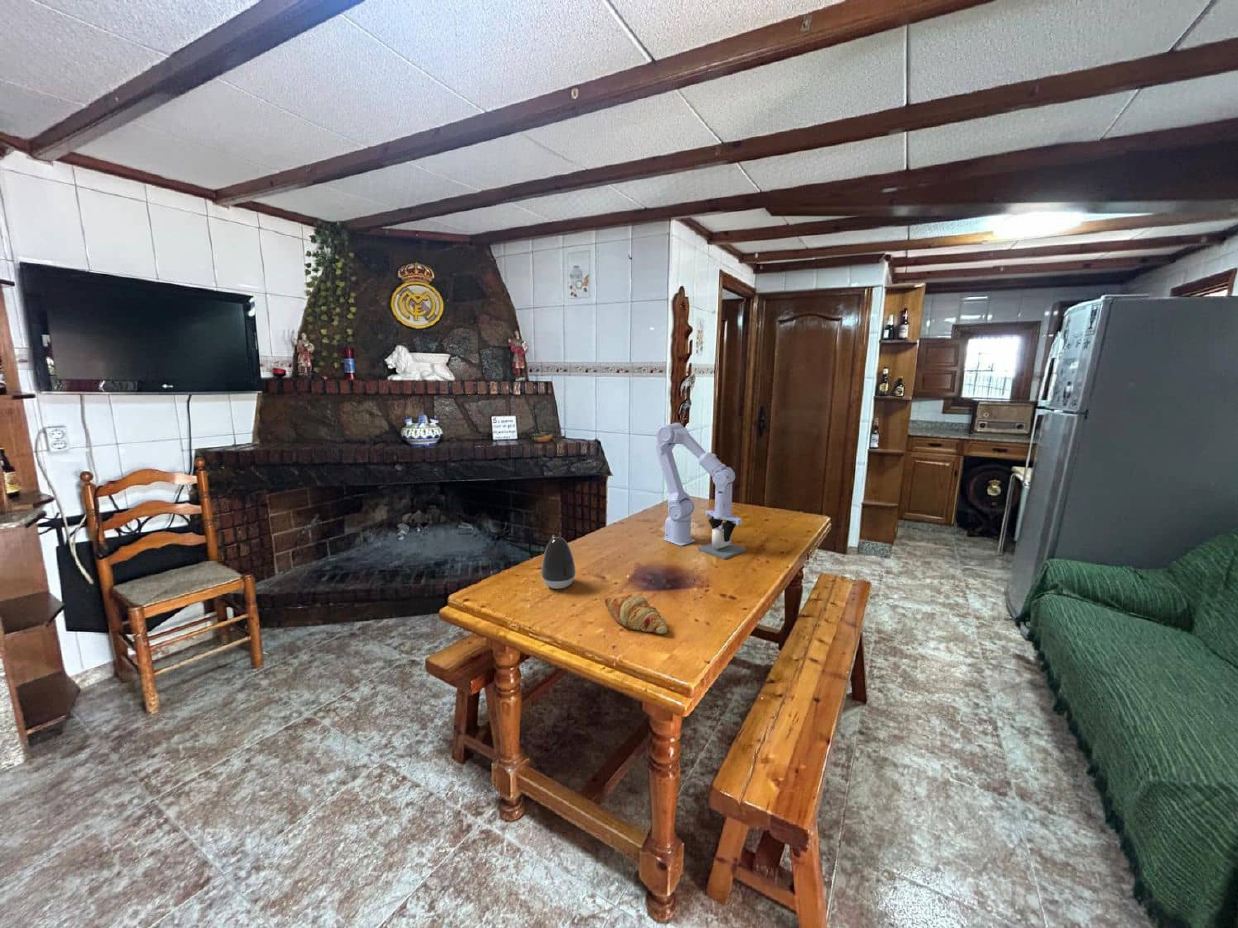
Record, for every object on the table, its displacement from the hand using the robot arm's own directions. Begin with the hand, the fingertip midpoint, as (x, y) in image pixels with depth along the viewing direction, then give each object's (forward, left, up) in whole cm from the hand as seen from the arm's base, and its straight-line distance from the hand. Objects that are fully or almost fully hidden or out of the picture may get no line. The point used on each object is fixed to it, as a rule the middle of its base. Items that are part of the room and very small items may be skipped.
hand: (722, 539), depth 177 cm
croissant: (+16, -57, -4) cm, 59 cm away
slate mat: (0, 0, -4) cm, 4 cm away
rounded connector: (0, 0, -2) cm, 2 cm away
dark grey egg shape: (-15, -59, -4) cm, 61 cm away
